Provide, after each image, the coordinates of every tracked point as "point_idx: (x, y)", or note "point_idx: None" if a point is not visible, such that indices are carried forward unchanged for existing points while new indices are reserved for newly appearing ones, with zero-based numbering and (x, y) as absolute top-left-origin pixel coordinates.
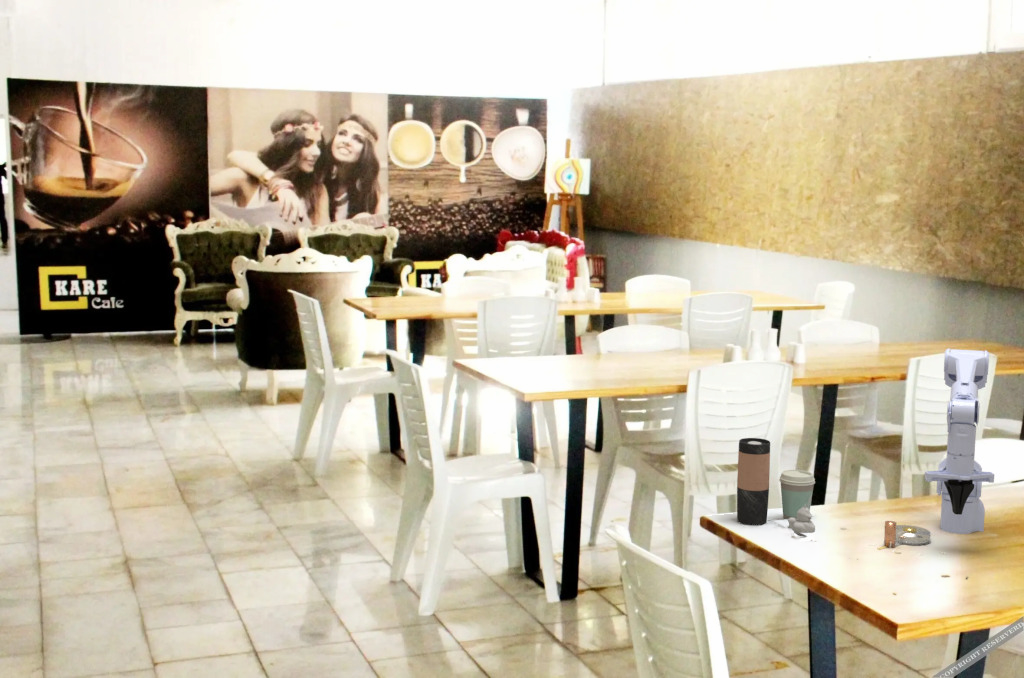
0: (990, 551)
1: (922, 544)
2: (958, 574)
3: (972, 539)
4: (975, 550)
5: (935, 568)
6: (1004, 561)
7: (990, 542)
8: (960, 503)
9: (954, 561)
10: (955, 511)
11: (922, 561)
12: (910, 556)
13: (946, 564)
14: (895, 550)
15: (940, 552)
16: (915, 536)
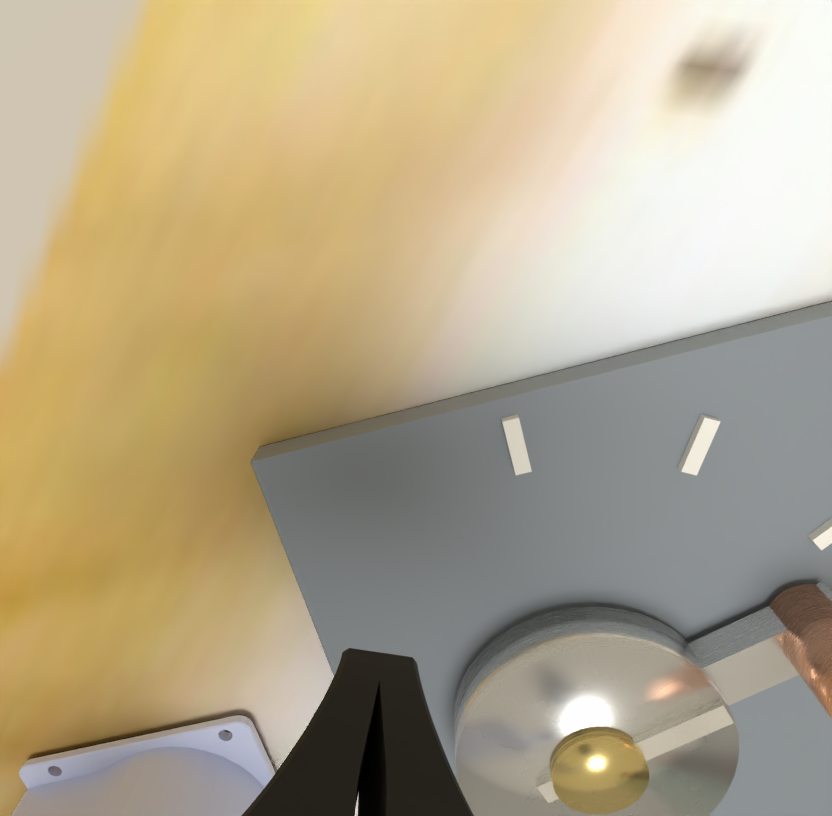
0: (105, 535)
1: (565, 611)
2: (583, 94)
3: (124, 736)
4: (195, 563)
5: (673, 254)
6: (93, 337)
7: (35, 680)
8: (362, 755)
9: (449, 381)
10: (417, 686)
11: None
12: None
13: (541, 328)
14: (824, 532)
15: (527, 457)
16: (631, 657)
